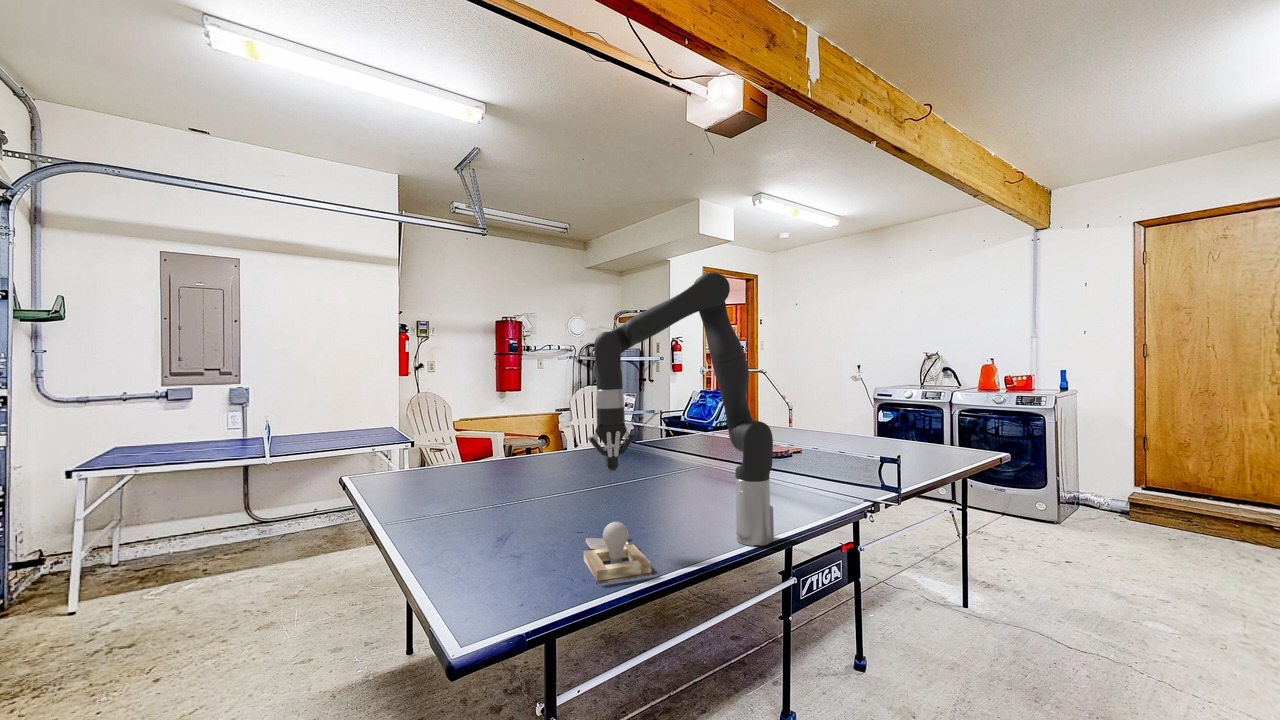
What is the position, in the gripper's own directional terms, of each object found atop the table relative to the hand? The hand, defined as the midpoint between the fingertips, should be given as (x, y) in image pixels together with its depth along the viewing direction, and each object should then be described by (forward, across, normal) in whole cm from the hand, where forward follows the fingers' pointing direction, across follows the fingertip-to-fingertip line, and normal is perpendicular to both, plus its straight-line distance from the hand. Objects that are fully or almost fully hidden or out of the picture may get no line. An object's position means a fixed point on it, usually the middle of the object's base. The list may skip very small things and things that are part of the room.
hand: (612, 470), depth 134 cm
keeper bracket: (+21, +3, -1) cm, 21 cm away
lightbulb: (+21, -4, -13) cm, 25 cm away
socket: (+21, -4, -14) cm, 25 cm away
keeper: (+20, -2, -1) cm, 20 cm away
